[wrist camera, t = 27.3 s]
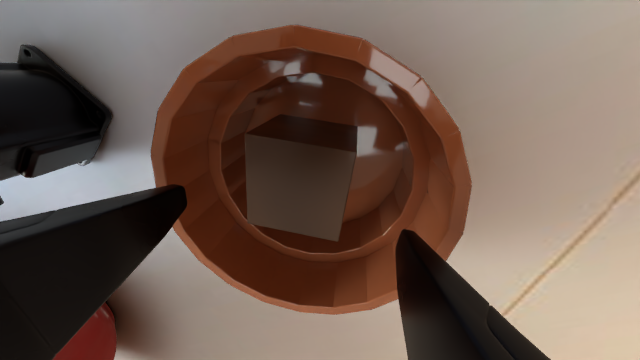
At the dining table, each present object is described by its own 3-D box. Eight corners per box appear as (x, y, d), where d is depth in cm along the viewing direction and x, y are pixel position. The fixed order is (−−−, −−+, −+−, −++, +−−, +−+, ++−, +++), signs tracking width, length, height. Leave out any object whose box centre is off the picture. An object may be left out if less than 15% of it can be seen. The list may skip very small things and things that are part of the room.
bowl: (199, 145, 17) (107, 189, 11) (328, -13, 12) (291, -108, 6) (317, 256, 20) (298, 340, 14) (464, 169, 15) (540, 241, 8)
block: (277, 182, 17) (247, 223, 12) (279, 113, 14) (243, 133, 10) (344, 195, 16) (338, 242, 12) (358, 126, 14) (357, 152, 10)
